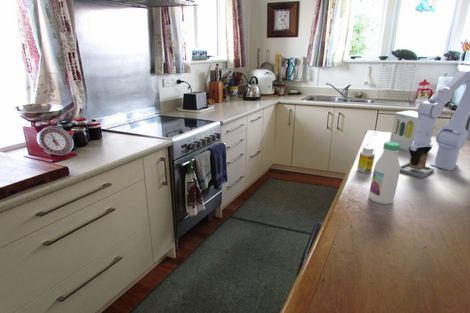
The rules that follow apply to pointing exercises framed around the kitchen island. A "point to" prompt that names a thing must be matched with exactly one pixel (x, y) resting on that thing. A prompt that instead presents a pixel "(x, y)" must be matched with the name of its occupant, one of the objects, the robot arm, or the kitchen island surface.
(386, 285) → the kitchen island surface
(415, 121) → the supplement box
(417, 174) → the grey tray
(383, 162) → the milk bottle
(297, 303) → the kitchen island surface
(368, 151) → the supplement bottle
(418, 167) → the walnut block
